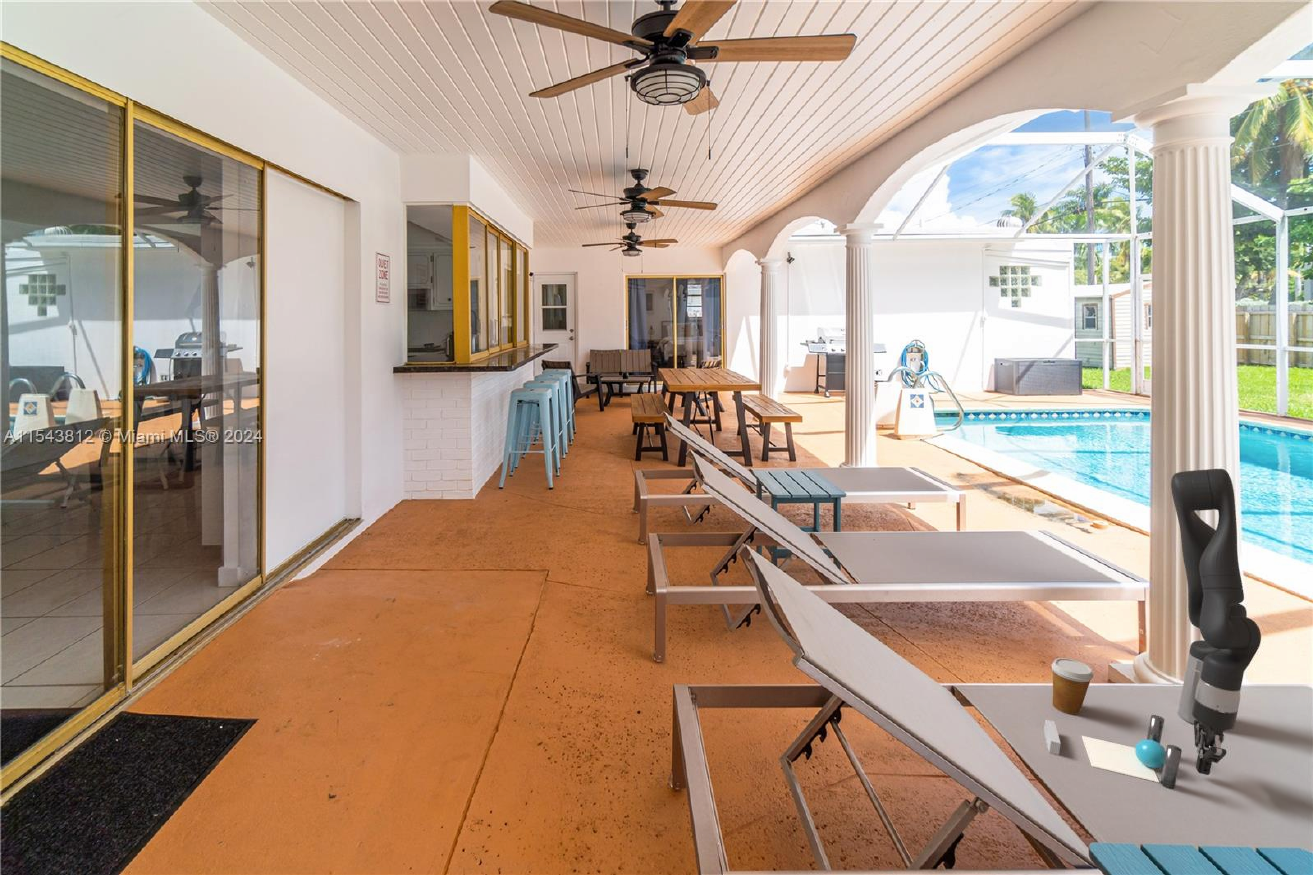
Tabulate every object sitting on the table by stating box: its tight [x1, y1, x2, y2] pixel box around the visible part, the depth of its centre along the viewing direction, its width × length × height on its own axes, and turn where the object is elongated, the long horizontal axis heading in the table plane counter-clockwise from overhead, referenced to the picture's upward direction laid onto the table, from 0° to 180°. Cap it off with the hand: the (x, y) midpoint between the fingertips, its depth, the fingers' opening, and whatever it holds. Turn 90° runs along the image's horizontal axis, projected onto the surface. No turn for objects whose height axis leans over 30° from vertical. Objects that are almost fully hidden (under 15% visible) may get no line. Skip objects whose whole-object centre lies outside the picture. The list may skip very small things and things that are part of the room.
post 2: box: [1159, 744, 1183, 790], centre depth 153 cm, size 3×3×9 cm
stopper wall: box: [1043, 719, 1062, 756], centre depth 168 cm, size 10×2×3 cm, turn 157°
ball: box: [1134, 739, 1166, 769], centre depth 160 cm, size 6×6×6 cm
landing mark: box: [1081, 735, 1160, 784], centre depth 163 cm, size 13×13×1 cm
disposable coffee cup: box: [1051, 657, 1094, 715], centre depth 183 cm, size 10×10×12 cm
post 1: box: [1146, 714, 1165, 745], centre depth 165 cm, size 3×3×9 cm
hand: (1202, 772), depth 156 cm, fingers closed
